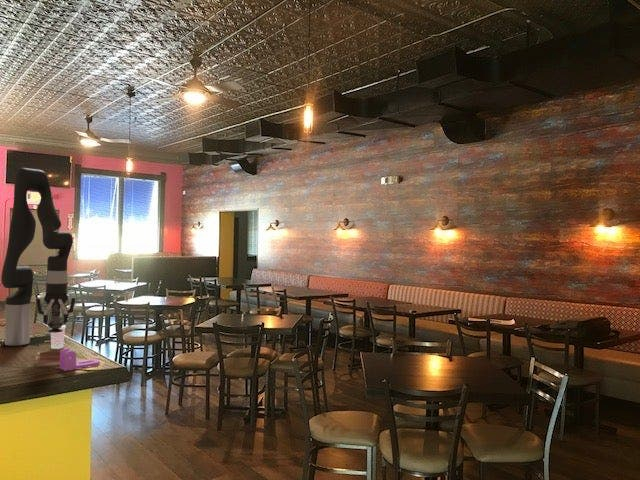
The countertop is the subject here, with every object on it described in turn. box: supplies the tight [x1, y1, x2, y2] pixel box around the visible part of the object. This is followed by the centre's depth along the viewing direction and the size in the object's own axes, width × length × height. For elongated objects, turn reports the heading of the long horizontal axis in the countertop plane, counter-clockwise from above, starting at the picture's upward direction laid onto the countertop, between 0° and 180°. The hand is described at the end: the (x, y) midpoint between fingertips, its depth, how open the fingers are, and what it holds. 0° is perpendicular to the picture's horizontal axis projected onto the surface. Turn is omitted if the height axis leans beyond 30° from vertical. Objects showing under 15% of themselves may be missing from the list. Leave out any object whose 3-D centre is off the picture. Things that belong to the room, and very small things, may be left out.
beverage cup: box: [49, 324, 67, 350], centre depth 214 cm, size 6×6×14 cm
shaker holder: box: [35, 350, 61, 368], centre depth 192 cm, size 11×10×3 cm
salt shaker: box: [47, 305, 64, 334], centre depth 203 cm, size 6×6×12 cm
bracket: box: [59, 347, 100, 372], centre depth 188 cm, size 13×6×7 cm, turn 135°
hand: (55, 323), depth 203 cm, fingers closed on salt shaker, 6 cm apart
